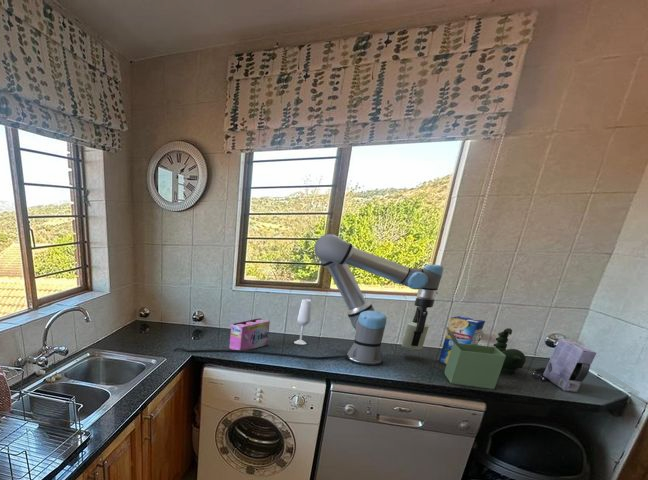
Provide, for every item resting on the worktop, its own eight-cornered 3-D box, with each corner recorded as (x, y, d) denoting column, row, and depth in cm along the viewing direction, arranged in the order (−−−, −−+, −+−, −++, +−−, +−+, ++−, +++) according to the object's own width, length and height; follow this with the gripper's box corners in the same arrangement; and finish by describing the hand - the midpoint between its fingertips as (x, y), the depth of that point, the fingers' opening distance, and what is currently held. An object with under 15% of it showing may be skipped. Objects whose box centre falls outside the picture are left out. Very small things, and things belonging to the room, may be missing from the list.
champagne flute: (291, 342, 225) (297, 299, 216) (297, 340, 229) (303, 298, 220) (302, 345, 220) (309, 301, 212) (308, 342, 225) (315, 300, 216)
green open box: (450, 383, 171) (460, 350, 165) (443, 373, 182) (453, 342, 176) (494, 389, 165) (506, 355, 160) (484, 378, 176) (495, 346, 171)
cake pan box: (580, 393, 161) (598, 352, 155) (564, 391, 163) (582, 350, 157) (555, 377, 178) (571, 339, 171) (541, 375, 180) (556, 337, 173)
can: (424, 346, 202) (431, 323, 197) (420, 350, 195) (427, 327, 191) (403, 342, 207) (409, 320, 203) (399, 346, 201) (405, 323, 197)
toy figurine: (481, 363, 200) (500, 375, 178) (492, 325, 194) (513, 333, 172) (505, 366, 196) (527, 379, 174) (517, 327, 191) (541, 336, 169)
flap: (461, 349, 165) (460, 349, 165) (453, 340, 176) (452, 341, 176) (453, 333, 164) (452, 334, 165) (446, 326, 175) (445, 326, 176)
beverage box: (463, 368, 188) (477, 322, 180) (438, 361, 197) (451, 317, 189) (470, 366, 191) (485, 320, 183) (446, 359, 200) (458, 315, 192)
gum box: (258, 341, 227) (260, 317, 222) (269, 344, 221) (272, 320, 216) (228, 348, 214) (230, 323, 209) (240, 352, 208) (242, 326, 203)
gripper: (439, 302, 182) (425, 350, 190) (430, 295, 200) (417, 338, 208) (420, 301, 184) (407, 347, 193) (412, 293, 203) (401, 336, 211)
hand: (412, 343), depth 201 cm, fingers closed on can, 9 cm apart
